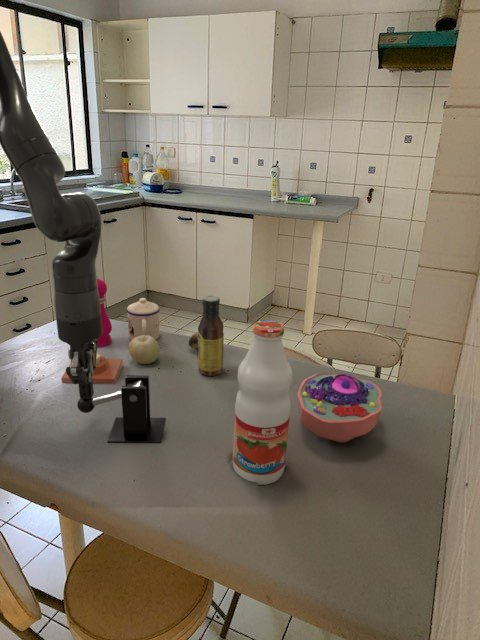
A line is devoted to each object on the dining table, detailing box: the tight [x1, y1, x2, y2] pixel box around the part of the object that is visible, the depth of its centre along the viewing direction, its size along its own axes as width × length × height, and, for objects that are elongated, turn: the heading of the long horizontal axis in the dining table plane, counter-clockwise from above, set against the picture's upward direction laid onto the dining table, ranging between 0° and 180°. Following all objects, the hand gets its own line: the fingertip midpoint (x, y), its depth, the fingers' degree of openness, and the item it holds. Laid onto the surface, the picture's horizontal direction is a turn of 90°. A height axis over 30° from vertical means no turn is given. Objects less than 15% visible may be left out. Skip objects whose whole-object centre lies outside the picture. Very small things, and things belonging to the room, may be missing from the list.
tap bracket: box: [107, 374, 166, 444], centre depth 89 cm, size 10×8×12 cm
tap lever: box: [76, 380, 144, 414], centre depth 88 cm, size 13×3×3 cm, turn 93°
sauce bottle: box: [197, 294, 225, 377], centre depth 112 cm, size 7×6×20 cm
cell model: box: [296, 372, 383, 444], centre depth 93 cm, size 17×20×11 cm
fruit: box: [128, 334, 160, 365], centre depth 118 cm, size 8×7×8 cm
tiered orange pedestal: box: [60, 355, 124, 385], centre depth 111 cm, size 12×10×4 cm
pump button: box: [96, 352, 101, 365], centre depth 110 cm, size 4×4×2 cm
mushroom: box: [188, 331, 198, 350], centre depth 126 cm, size 8×8×6 cm
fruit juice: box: [232, 319, 294, 486], centre depth 78 cm, size 9×9×28 cm
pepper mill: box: [96, 273, 113, 348], centre depth 125 cm, size 7×7×20 cm
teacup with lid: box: [126, 297, 160, 341], centre depth 130 cm, size 12×9×12 cm
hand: (87, 397), depth 87 cm, fingers closed
